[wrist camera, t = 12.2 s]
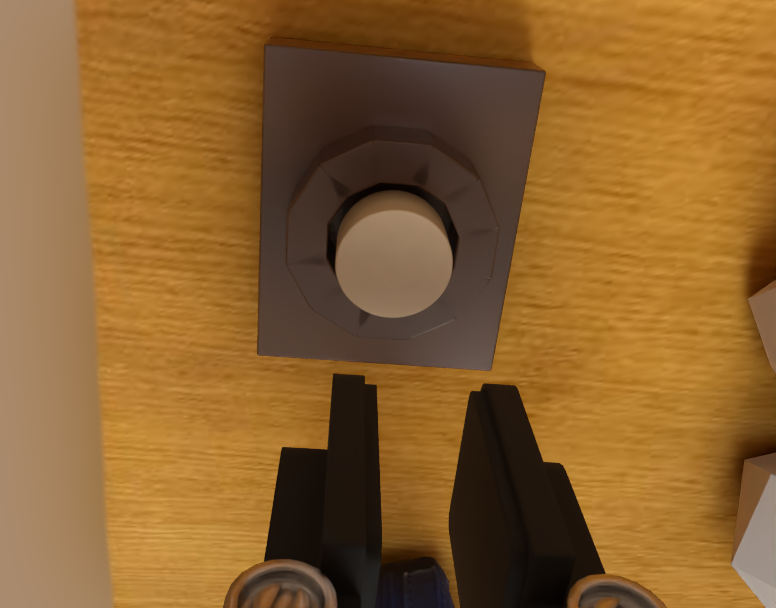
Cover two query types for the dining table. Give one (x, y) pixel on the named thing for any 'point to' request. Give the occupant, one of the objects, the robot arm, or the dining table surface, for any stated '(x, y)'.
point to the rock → (759, 484)
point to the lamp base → (389, 172)
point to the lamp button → (393, 254)
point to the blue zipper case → (413, 585)
